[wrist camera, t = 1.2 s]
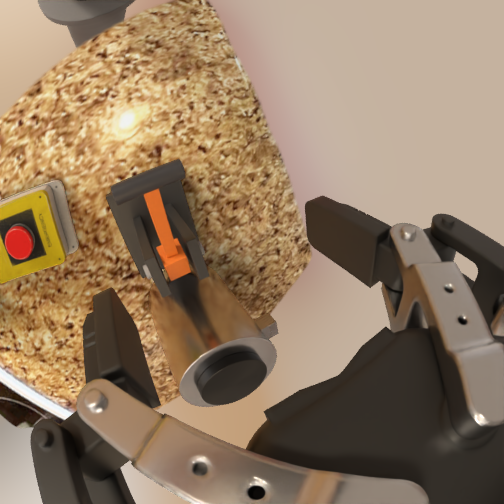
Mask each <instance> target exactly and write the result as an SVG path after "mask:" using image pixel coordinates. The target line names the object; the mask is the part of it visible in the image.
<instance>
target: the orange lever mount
mask: <svg viewBox="0 0 504 504" xmlns="http://www.w3.org/2000/svg"><path fill="white" fill-rule="evenodd" d="M159 191H160V195H161V198H162V202H163V205H164V209H165V212H166V216H167V219H168V222H169V226H170V229H171V232H172V236H173V239H176V238H178V241H179V243H180V245H181V247H182V249H183V251H184V253H185V255H186V257H187V260H188V261H189V263H190V264H191V266H192V268H193V269H194V271H195V273H196V274H197V276H198V277H199V279H200V280H202V279H205V278H207V277H209V273H208V270H207V267H206V264H205V261H204V258H203V255H204V254H205V251H204V248H203V246H202V244H201V242H200V241H199V239H198V235H197V232H196V229H195V226H194V223H193V220H192V216H191V213H190V210H189V207H188V203H187V200H186V197H185V194H184V190H183V187H182V183H181V180H179V181H177V182H174V183H171V184H169V185H166V186H164V187H161V188H159ZM106 199H107V201H108V204H109V206H110V209H111V211H112V213H113V216H114V218H115V220H116V223H117V225H118V227H119V230H120V232H121V234H122V236H123V239H124V241H125V243H126V245H127V247H128V250H129V252H130V254H131V256H132V258H133V260H134V262H135V264H136V266H137V268H138V270H139V272H140V274H141V276H142V278H145V277H147V278H148V279H151V278H153V280H154V282H155V284H156V286H157V288H158V290H159V292H160V294H161V296H162V298H164V297H166V296H168V295H170V294H172V293H171V290H170V288H169V286H168V283H167V281H166V279H165V276H164V274H163V272H162V269H164V268H165V267H164V265H163V263H162V260H161V258H160V256H159V253H158V251H157V248H156V247H158V246H160V245H161V242H160V239H159V237H158V234H157V232H156V229H155V226H154V223H153V221H152V218H151V215H150V212H149V209H148V207H147V204H146V201H145V198H144V195H142V196H139V197H137V198H135V199H132V200H130V201H128V202H125V203H123V204H121V205H119V206H118V205H117V204H116V202H115V200H114V197H113V194H112V192H111V193H109V194H107V195H106Z"/></svg>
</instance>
